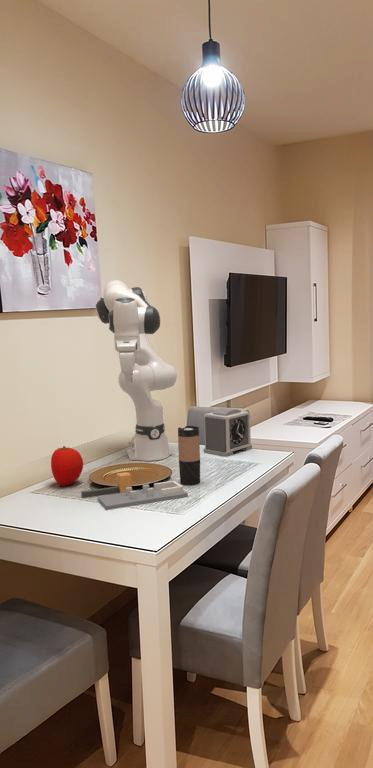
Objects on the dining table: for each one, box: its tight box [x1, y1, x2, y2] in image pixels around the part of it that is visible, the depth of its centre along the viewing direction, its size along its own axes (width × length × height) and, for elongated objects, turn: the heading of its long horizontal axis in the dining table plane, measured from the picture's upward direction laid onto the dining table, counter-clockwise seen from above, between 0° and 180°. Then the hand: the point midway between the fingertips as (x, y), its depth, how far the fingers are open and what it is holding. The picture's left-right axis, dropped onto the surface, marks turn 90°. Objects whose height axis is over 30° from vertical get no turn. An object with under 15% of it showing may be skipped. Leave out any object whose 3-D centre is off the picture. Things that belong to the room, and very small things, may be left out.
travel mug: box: [177, 425, 201, 486], centre depth 223 cm, size 8×8×20 cm
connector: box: [80, 471, 132, 499], centre depth 214 cm, size 17×4×6 cm, turn 113°
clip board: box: [96, 480, 189, 511], centre depth 208 cm, size 11×28×4 cm, turn 113°
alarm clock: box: [203, 407, 253, 458], centre depth 268 cm, size 18×13×18 cm
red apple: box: [50, 445, 84, 487], centre depth 226 cm, size 13×11×14 cm
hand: (129, 384), depth 218 cm, fingers open, 8 cm apart
